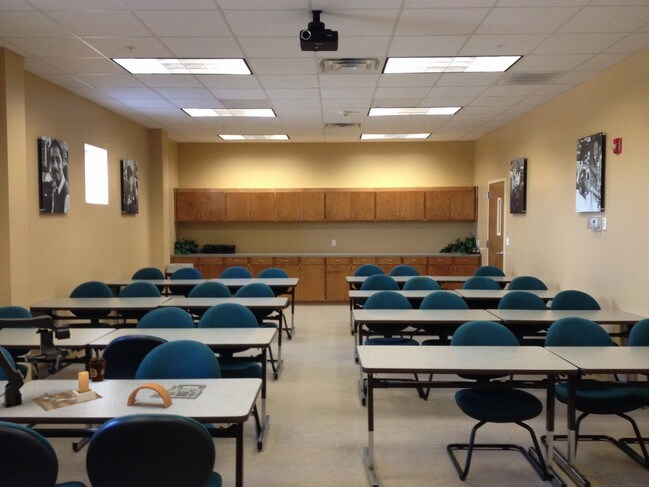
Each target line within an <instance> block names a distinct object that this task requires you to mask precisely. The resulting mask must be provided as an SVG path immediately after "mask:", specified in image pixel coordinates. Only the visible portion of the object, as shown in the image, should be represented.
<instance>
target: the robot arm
mask: <svg viewBox="0 0 649 487" xmlns="http://www.w3.org/2000/svg"><path fill="white" fill-rule="evenodd" d="M23 327H24V328H25V327H27V328H28V327H32V328H37V329H36V330H35V334H37V335H38V334H39V338H40V340H39V342H40V343H39V346H40V352H39V354H35V353H29V354H25V355H24V361H25V363H28V364H30V365H32V367H33V369H34V371H35V374H36V375H37V376H38V375H39V366H38V363H39V362H38V361H37V360H40V359H46V360H52V359H56V371H57V372H58V371H59V370H60V368H61V365H62V363H63V361H64V360H65V359H66V358H67V357H68V356H70V351H69V349H66V348H61V347H60V346H58V347H55V343H54V339H56V340H57V341H60V340H61V341H62V340H70V339H71V332H70V325H68V324H66V325H64V326H63V325H60V326H57V324H55V323H54V320H53V317H51V316H50V315H47V314H44V315H39V316H35V317H28V318H27V317H25V318H24V317H23V318H18V317H17V318H16V317H15V318H4V317H2V318H0V331H2V330H3V329H4V328H23ZM0 368H1V370H2V371H3V373H4V374H5V376H6V379H7V383H6V384H5V385H4V392H3V403H2V405H3V406H4V407H6V408H10V407H14V406H19V405H22V401H23V400H22V399H23V398H22V396H23V394H22V393H21V390H20V389H21V388H22V387H23V386H24V380H25V377H24V375H23V374H22V372H21V370H20V368H18V369H17V370H16V369H14V368H13V365H12V364H11V363H10V362H9V359H8V358H7V356H5V354H4V352H3V350H2V349H1V348H0Z"/></svg>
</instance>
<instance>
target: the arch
mask: <svg viewBox="0 0 649 487" xmlns="http://www.w3.org/2000/svg"><path fill="white" fill-rule="evenodd" d="M142 389H150V390H153V391H154V392H157V393H158V394H159V395H160V396H161V397H162V398H161V399H162V401H163V403H164V409H167V408H169V407H170V406H171V405H172V404H173V403H172V402H173V401H172V398H171V397H170V395H169V393H168V391H167V390H166V389H165V388H164V387H163V386H162V385H161V384H159V383H156V382H147V383H144V384H142V385H140V386H139V387H137V388H136V389H134V390H133V391H132V392H131V393H130V394H129V397H128V398H127V403H126V404H127V405H126V406H132V405H133V404H134V403H135V402H136V397H137V394H138V393H139V391H140V390H142Z"/></svg>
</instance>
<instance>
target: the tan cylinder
mask: <svg viewBox="0 0 649 487" xmlns="http://www.w3.org/2000/svg"><path fill="white" fill-rule="evenodd" d="M77 377H78V389H79V394H82V393H86V392H89V387H90V378H89V377H90V371H87V370H83V371H80V372H78V376H77Z"/></svg>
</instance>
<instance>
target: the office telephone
mask: <svg viewBox="0 0 649 487" xmlns="http://www.w3.org/2000/svg"><path fill="white" fill-rule="evenodd" d="M163 387H164V388H165V389H166V390H167V391H168V393H169V395H170V397H171V399H186V400H195V398H196V399H197V398H198V397H199V396H200V395H201V394H202V391H203V389H205V388H206V387H207V384H199V383H198V384H197V383H180V384H178V385H176V384H174V383H166V384H165V385H164V386H163ZM184 387H185V388H184ZM187 387H190V388H187ZM193 387H196V388H193ZM198 395H199V396H198ZM197 396H198V397H197ZM149 397H150V398H157V399H158V398H159V399H160V398H161V399H162V397H161V396H160V395H159V394H158V393H157V392H156V391H154V393H152V394H151V395H150V396H149Z"/></svg>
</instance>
